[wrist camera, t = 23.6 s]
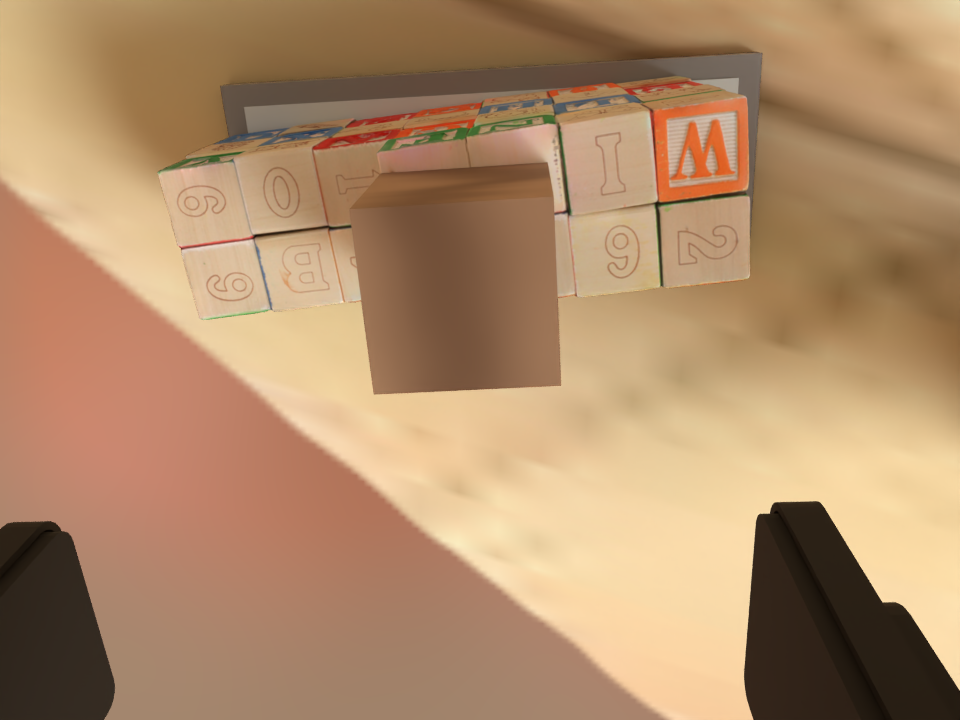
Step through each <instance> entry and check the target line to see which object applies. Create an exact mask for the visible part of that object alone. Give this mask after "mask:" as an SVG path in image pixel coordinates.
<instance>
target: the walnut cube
mask: <svg viewBox="0 0 960 720" xmlns="http://www.w3.org/2000/svg"><path fill="white" fill-rule="evenodd" d="M349 212H350V220H351V227H352V235H353V242H354V250H355V257H356V265H357V272H358V280H359V287H360V295H361V302H362V309H363V317H364V324H365V332H366V339H367V347H368V354H369V362H370V369H371V377H372V384H373V392H374V394H393V393H414V392H435V391H457V390H478V389H499V388H520V387H542V386H561V370H560V344H559V319H558V293H557V267H556V241H555V215H554V195H553V189H552V184H551V178H550V173H549V167H548V162H544V163H529V164H514V165H499V166H483V167H468V168H453V169H438V170H423V171H408V172H392V173H381V174H380V175H379V176H378V177H377V178H376V179H375V181H374V182H373V183H372V184H371V185H370V186H369V187H368V189H367V190H366V191H365V192H364V193H363V194H362V195H361V197H360V198H359V199H358V200H357V201H356V202H355V203H354V204H353V206H352V207H351V208H350V209H349Z"/></svg>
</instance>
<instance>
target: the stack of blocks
mask: <svg viewBox="0 0 960 720" xmlns="http://www.w3.org/2000/svg"><path fill="white" fill-rule="evenodd" d="M544 162H548V167H549V173H550V178H551V184H552V189H553V195H554V215H555V241H556V267H557V293H558V298H560V297H567V296H571V295H575V296H577V297H590V296H599V295H607V294H615V293H623V292H632V291H640V290H649V289H656V288H659V287H660V286H662V287H665V288H676V287H685V286H695V285H705V284H714V283H724V282H732V281H741V280H745V279H749V277H750V198H749V196H748V195H747V194H746V190H747V189H748V185H749V139H748V104H747V98H746V97H745V96H744V95H740V94H736V93H732V92H728V91H726V90H725V89H721V88H720V87H716V86H713V85H709V84H705V85H703V84H700V83H696V82H692V80H691V79H690V78H686V77H681V76H672V77H665V78H657V79H649V80H641V81H633V82H626V83H618V84H614V83H603V84H596V85H588V86H581V87H574V88H566V89H559V90H551V91H544V92H534V93H526V94H518V95H511V96H503V97H496V98H488V99H485V100H483V101H482V102H480V103H470V104H464V105H458V106H450V107H442V108H435V109H427V110H422V111H419V112H417V113H407V114H399V115H392V116H385V117H378V118H372V119H363V120H359V121H357V120H356V119H354V118H349V119H341V120H334V121H326V122H319V123H311V124H304V125H297V126H293V127H291V128H283V129H275V130H268V131H260V132H253V133H247V134H239V135H234V136H231V137H229V138H227V139H225V140H222V141H220V142H218V143H215V144H213V145H209V146H207V147H205V148H202V149H200V150H197V151H195V152H193V153H191V154H188V155H187V156H186V160H182V161H181V162H178V163H176V164H174V165H171V166H169V167H166V168H164V169H163V170H160V171H159V172H157V173H158V177H159V180H160V184H161V188H162V191H163V195H164V198H165V202H166V205H167V209H168V212H169V215H170V219H171V223H172V227H173V231H174V234H175V238H176V242H177V245H178V246H179V247H180V248H181V253H182V258H183V261H184V265H185V269H186V272H187V276H188V280H189V283H190V286H191V289H192V293H193V297H194V300H195V304H196V308H197V311H198V314H199V318H200V319H201V320H209V319H215V318H223V317H231V316H238V315H247V314H254V313H259V312H265V311H268V310H273V311H274V312H275V311H286V310H293V309H301V308H309V307H316V306H323V305H332V304H340V303H343V302H358V301H361V295H360V287H359V280H358V272H357V265H356V257H355V250H354V242H353V235H352V227H351V220H350V212H349V209H350V208H351V207H352V206H353V204H354V203H355V202H356V201H357V200H358V199H359V198H360V197H361V195H362V194H363V193H364V192H365V191H366V190H367V189H368V187H369V186H370V185H371V184H372V183H373V182H374V181H375V179H376V178H377V177H378V176H379V175H380V174H381V173H392V172H408V171H423V170H438V169H453V168H468V167H483V166H499V165H514V164H529V163H544Z"/></svg>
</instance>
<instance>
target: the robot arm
mask: <svg viewBox="0 0 960 720" xmlns="http://www.w3.org/2000/svg"><path fill="white" fill-rule="evenodd" d="M744 681H745V691H746V696H747V701H748V704H749V707H750V710H751V713H752V716H753V719H754V720H960V691H959V689H958V688H957V686H956V684H955V683H954V681H953V680H952V678H951V677H950V675H949V674H948V672H947V671H946V669H945V667H944V666H943V664H942V663H941V661H940V660H939V658H938V657H937V655H936V654H935V652H934V650H933V649H932V647H931V646H930V644H929V643H928V641H927V640H926V638H925V637H924V635H923V633H922V632H921V630H920V629H919V627H918V626H917V624H916V623H915V621H914V620H913V618H912V616H911V615H910V614H909V612H908V611H907V610H906V609H905V608H904V607H903V606H902V605H900V604H898V603H896V602H888V603H882V601H881V600H880V598H879V596H878V595H877V593H876V591H875V590H874V588H873V586H872V585H871V583H870V582H869V580H868V578H867V577H866V575H865V573H864V572H863V570H862V569H861V567H860V565H859V564H858V562H857V560H856V559H855V557H854V555H853V554H852V552H851V551H850V549H849V547H848V546H847V544H846V542H845V541H844V539H843V538H842V536H841V534H840V533H839V531H838V529H837V528H836V526H835V524H834V523H833V521H832V520H831V518H830V516H829V515H828V513H827V511H826V510H825V508H824V507H823V505H822V504H821V503H820V502H817V501H813V502H775V503H774V504H773V505H772V507H771V511H770V514H759V515H758V517H757V520H756V529H755V542H754V555H753V568H752V580H751V593H750V606H749V618H748V631H747V644H746V657H745V669H744ZM114 693H115V684H114V678H113V675H112V672H111V668H110V665H109V661H108V658H107V655H106V651H105V648H104V645H103V641H102V638H101V634H100V631H99V627H98V624H97V620H96V617H95V614H94V611H93V607H92V603H91V600H90V597H89V593H88V590H87V586H86V583H85V580H84V576H83V573H82V569H81V566H80V563H79V560H78V556H77V552H76V549H75V546H74V542H73V540H72V537H71V536H70V535H69V534H68V533H67V532H62V531H61V529H60V527H59V526H58V525H57V524H56V523H54V522H51V521H45V522H13V523H8V524H6V525H5V526H3V527H2V528H1V529H0V720H104V719H105V717H106V715H107V713H108V712H109V710H110V708H111V705H112V702H113V699H114Z"/></svg>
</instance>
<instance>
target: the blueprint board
mask: <svg viewBox="0 0 960 720" xmlns="http://www.w3.org/2000/svg"><path fill="white" fill-rule="evenodd" d="M761 65H762V53H759V52H751V53H735V54H718V55H702V56H685V57H669V58H652V59H636V60H620V61H603V62H587V63H570V64H554V65H537V66H521V67H505V68H488V69H472V70H455V71H439V72H422V73H406V74H390V75H373V76H357V77H340V78H324V79H307V80H291V81H275V82H258V83H242V84H227V85H223V86H220V88H221V94H222V99H223V105H224V111H225V117H226V123H227V129H228V135H229V137H231V136H234V135H239V134H247V133H253V132H260V131H268V130H275V129H283V128H291V127H293V126H297V125H304V124H311V123H319V122H326V121H334V120H341V119H349V118H354V119H356V120H357V121H359V120H363V119H372V118H378V117H385V116H392V115H399V114H407V113H417V112H419V111H422V110H427V109H435V108H442V107H450V106H458V105H464V104H470V103H480V102H482V101H483V100H485V99H488V98H496V97H503V96H511V95H518V94H526V93H534V92H544V91H551V90H559V89H566V88H574V87H581V86H588V85H596V84H603V83H614V84H618V83H626V82H633V81H641V80H649V79H657V78H665V77H672V76H681V77H686V78H690V79H691V80H692V82H696V83H700V84H703V85H705V84H709V85H713V86H716V87H720V88H721V89H725V90H726V91H728V92H732V93H736V94H740V95H744V96H745V97H746V98H747V104H748V139H749V185H748V189H747V190H746V194H747V195H748V196H749V198H750V233H751V218H752V203H753V188H754V172H755V157H756V142H757V126H758V111H759V96H760V80H761Z"/></svg>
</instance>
